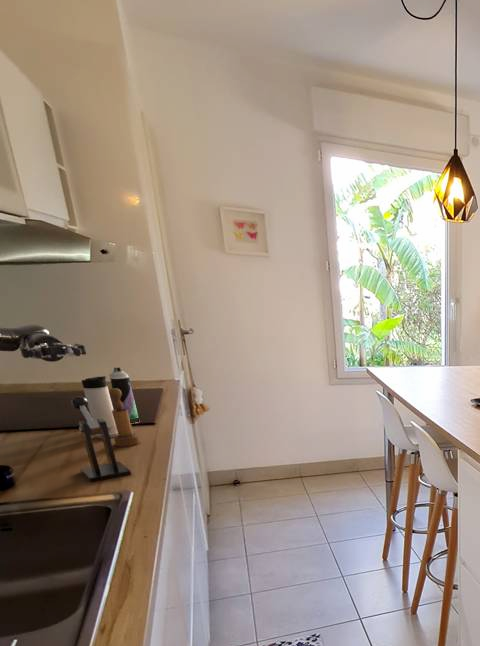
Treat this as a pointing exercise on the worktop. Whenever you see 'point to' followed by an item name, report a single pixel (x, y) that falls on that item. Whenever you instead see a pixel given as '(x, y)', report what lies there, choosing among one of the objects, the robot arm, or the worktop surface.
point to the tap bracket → (95, 470)
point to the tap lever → (86, 414)
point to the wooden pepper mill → (122, 423)
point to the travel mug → (100, 403)
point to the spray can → (124, 391)
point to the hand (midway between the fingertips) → (59, 353)
